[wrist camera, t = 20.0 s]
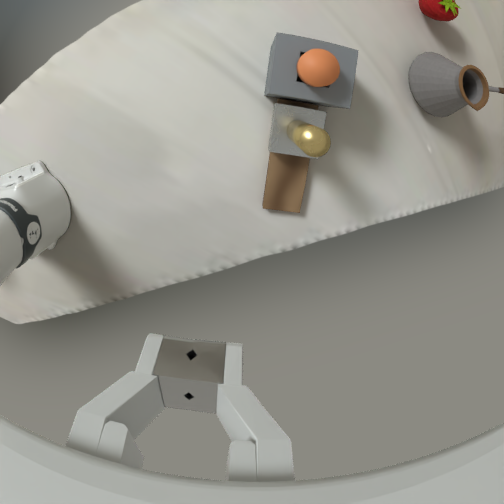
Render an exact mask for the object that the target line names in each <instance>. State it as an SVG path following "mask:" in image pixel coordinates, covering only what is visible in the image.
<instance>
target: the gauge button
mask: <svg viewBox="0 0 504 504" xmlns="http://www.w3.org/2000/svg"><path fill="white" fill-rule="evenodd" d="M296 68H297V80H296V82H302V83H306V84H307V85H309V86H312V87H323V86H328V85H330V84H332V83H334V82H335V81H336V80H337V78H338V76H339V73H340V66H339V62H338V60H337V59H336V57H335V56H334V55H333V54H332V53H330V52H329V51H327V50H324V49H311V50H309V51H307V52H306V53H304V54H303V55H302V56H301V57H300V58H299V60H298V62H297V67H296Z"/></svg>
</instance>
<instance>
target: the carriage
mask: <svg viewBox="0 0 504 504" xmlns="http://www.w3.org/2000/svg"><path fill="white" fill-rule="evenodd" d="M325 119H326V112H324V111H319V110H314V109H308V108H303V107H297V106H291V105H285V104H278V103H274V110H273V118H272V125H271V132H270V139H269V147H268V149H269V152H274V153H281V154H288V155H295V156H302V157H308V158H314V159H319V157H320V156H323V155H324V154H326V153H327V151H328V150H329V148H330V144H331V141H330V137H329V135H328V133H327V132H326V131H325V130H324V125H325Z"/></svg>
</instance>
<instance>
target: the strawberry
mask: <svg viewBox="0 0 504 504" xmlns="http://www.w3.org/2000/svg"><path fill="white" fill-rule="evenodd" d="M419 6H420V9H421V11H422V13H424V14H425V15H426V16H428V17H430V18H432V19H435V20H439V21H451V20H453V19H455V18H456V17H457V16H458V8H460V7H459V6H458V5H457V4H456V3H455V0H419Z"/></svg>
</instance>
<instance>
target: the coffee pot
mask: <svg viewBox="0 0 504 504" xmlns="http://www.w3.org/2000/svg"><path fill="white" fill-rule="evenodd" d="M409 85H410V89H411V92H412V94H413V96H414V98H415V100H416V101H417V102H418V104H419V105H420V106H421V107H422V108H423V109H424V110H425V111H426V112H428V113H430V114H432V115H434V116H438V117H445V116H449V115H451V114H452V113H454V112H456V111H457V110H459V109H461V108H463V107H464V106H466V105H470V106H471V107H472V108H473V109H475V110H477V111H478V110H480V109H481V108H483V107H484V106H485V104H486V103H487V101H488V98H489V91H492V92H498V93H502V94H504V88H496V87H491V86H488V82H487V80H486V77H485V76H484V74H483V73H482V72H481V70H480V69H478V68H477V67H475V66H473V65H466V66H464V67H463V68H462V67H461V66H459V65H457V64H456V63H454V62H452V61H451V60H449V59H447V58H445V57H444V56H442V55H440V54H437V53H433V52H426V53H423V54H421V55H419V56H418V57H417V58H416V59H415V60H414V61H413V63H412V65H411V67H410V70H409Z"/></svg>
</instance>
